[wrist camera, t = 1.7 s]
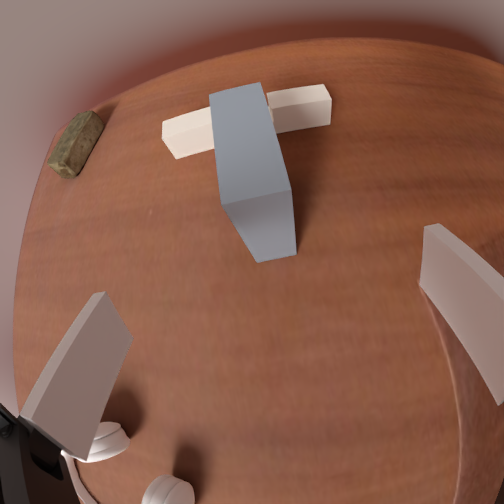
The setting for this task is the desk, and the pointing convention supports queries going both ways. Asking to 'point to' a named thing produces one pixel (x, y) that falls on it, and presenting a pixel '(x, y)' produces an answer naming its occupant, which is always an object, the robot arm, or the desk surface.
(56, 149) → the stone block
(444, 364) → the desk surface
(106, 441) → the headphones
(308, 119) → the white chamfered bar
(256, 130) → the blue-grey rectangular block
